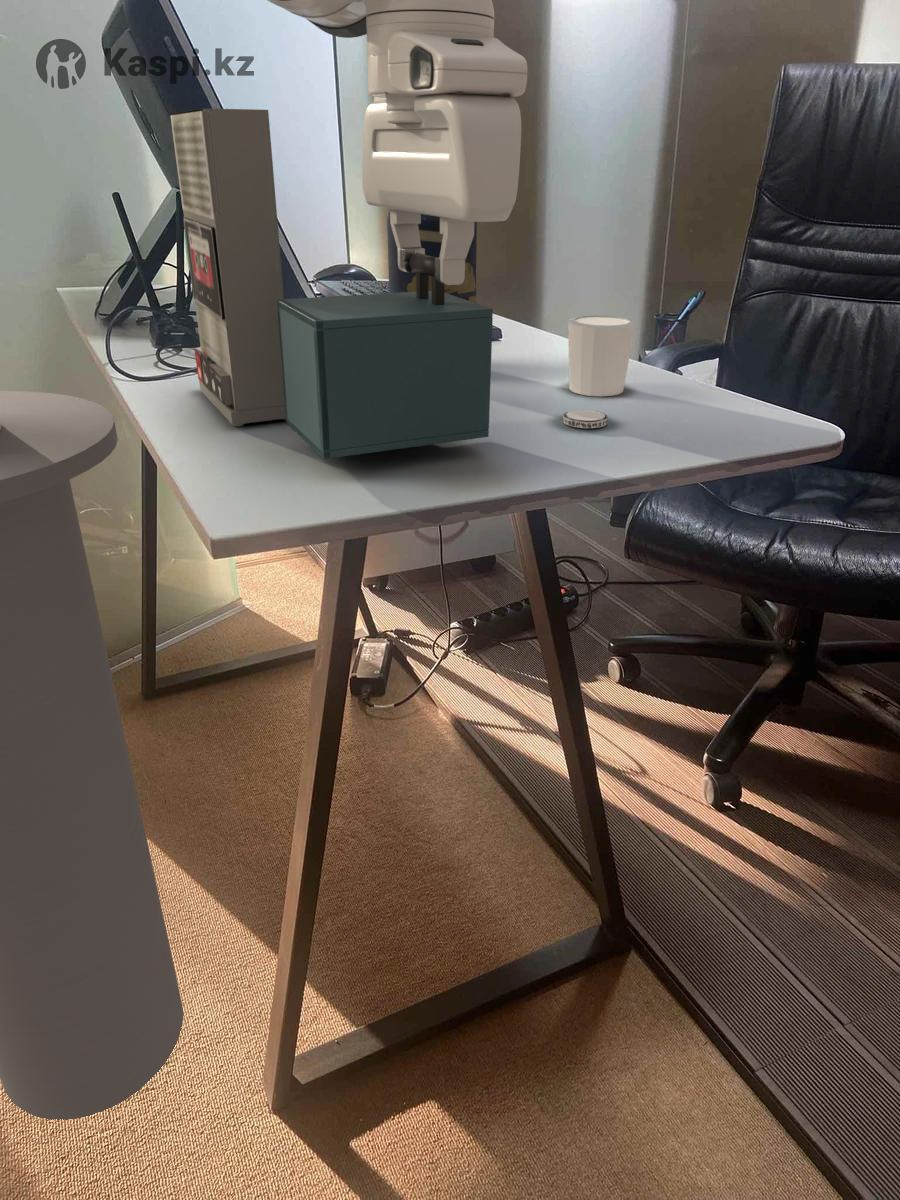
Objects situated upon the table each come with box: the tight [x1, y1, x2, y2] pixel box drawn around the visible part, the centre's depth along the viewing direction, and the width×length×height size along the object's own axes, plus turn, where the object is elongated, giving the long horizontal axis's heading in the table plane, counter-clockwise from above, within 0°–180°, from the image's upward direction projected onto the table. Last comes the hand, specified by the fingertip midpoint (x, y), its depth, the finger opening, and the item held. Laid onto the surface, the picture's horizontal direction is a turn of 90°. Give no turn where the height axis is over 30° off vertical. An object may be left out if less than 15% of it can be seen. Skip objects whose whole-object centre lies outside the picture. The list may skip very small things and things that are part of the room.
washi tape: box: [562, 409, 608, 429], centre depth 79 cm, size 4×4×1 cm
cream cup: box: [567, 315, 637, 397], centre depth 88 cm, size 7×7×7 cm
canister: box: [386, 210, 478, 303], centre depth 93 cm, size 10×10×18 cm
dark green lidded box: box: [277, 253, 494, 460], centre depth 68 cm, size 14×10×13 cm
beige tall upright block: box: [170, 107, 286, 427], centre depth 78 cm, size 14×6×25 cm, turn 26°
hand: (429, 277), depth 67 cm, fingers closed on dark green lidded box, 6 cm apart
